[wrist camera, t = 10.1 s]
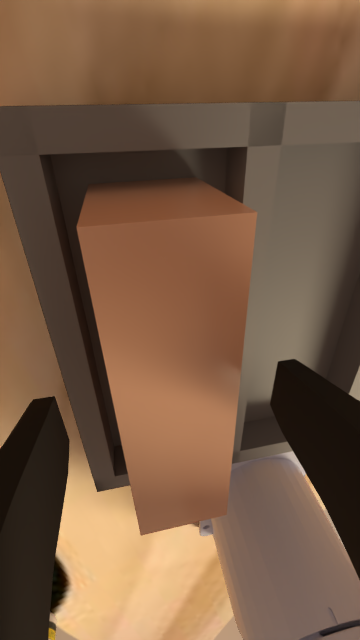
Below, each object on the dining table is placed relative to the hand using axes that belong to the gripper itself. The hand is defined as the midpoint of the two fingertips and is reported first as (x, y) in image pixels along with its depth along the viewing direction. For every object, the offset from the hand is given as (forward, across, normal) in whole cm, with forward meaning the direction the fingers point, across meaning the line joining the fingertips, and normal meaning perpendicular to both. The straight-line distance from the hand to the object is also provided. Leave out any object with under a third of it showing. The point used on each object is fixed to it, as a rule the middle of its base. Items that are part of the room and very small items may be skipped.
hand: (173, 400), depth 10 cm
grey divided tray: (+5, -3, 0) cm, 6 cm away
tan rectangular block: (+4, 0, 0) cm, 4 cm away
